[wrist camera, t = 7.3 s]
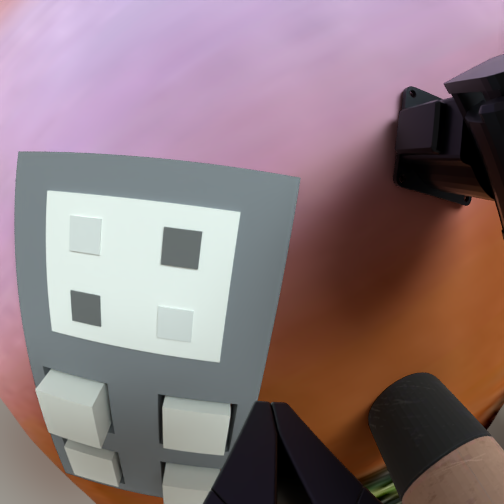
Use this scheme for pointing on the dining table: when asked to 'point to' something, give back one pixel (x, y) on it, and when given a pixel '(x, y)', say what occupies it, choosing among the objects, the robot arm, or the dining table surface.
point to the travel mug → (435, 445)
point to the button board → (150, 288)
